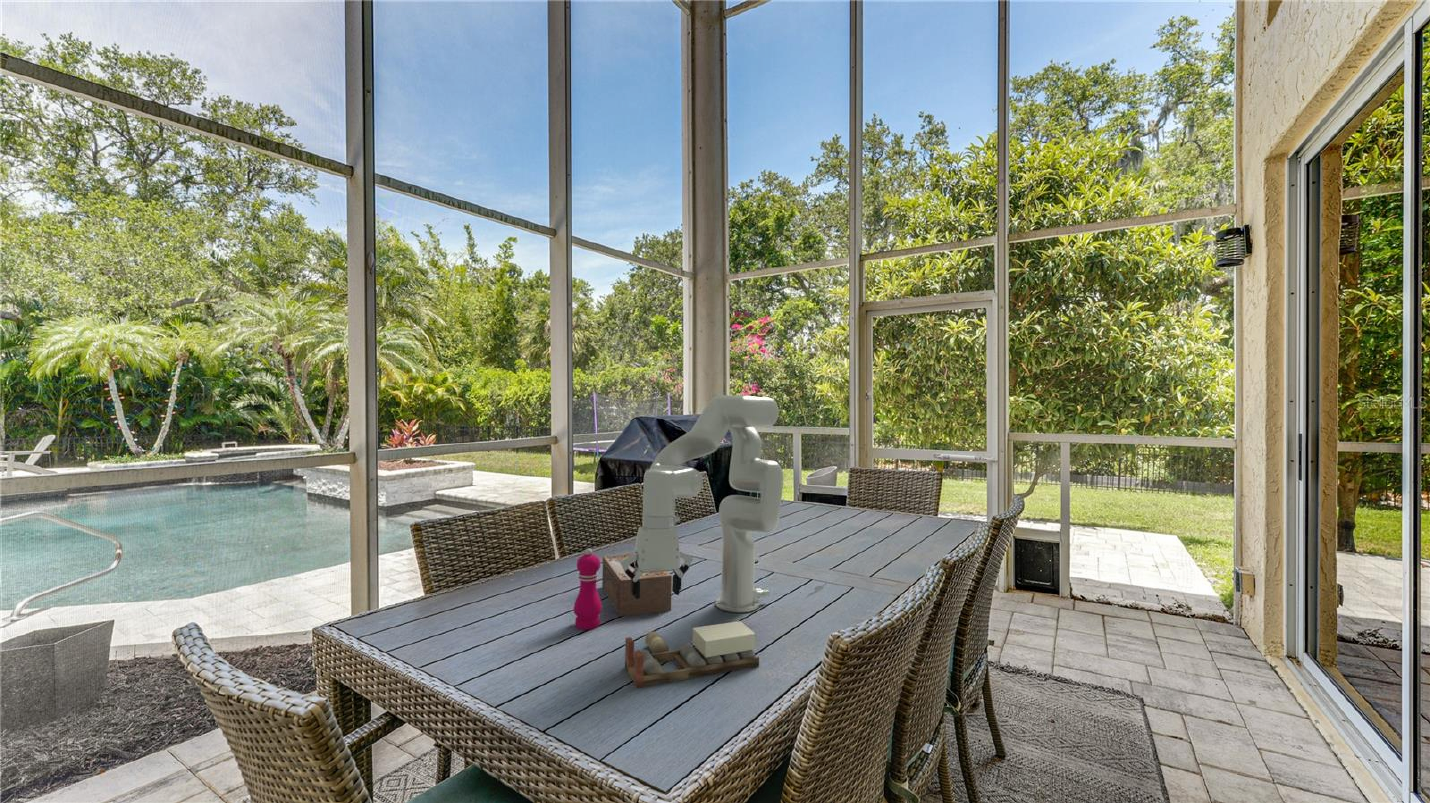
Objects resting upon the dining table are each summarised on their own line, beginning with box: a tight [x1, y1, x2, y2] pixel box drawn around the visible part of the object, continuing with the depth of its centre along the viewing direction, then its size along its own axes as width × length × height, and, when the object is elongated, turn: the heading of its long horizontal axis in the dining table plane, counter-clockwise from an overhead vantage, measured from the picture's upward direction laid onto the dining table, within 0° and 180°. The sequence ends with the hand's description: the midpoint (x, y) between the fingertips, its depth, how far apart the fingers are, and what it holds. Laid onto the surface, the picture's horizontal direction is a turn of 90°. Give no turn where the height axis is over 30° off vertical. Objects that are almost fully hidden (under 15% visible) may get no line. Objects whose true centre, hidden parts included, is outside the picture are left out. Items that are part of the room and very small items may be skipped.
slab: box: [692, 620, 756, 657], centre depth 136 cm, size 12×8×4 cm, turn 113°
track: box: [624, 636, 760, 689], centre depth 133 cm, size 28×10×6 cm, turn 113°
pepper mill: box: [573, 548, 603, 630], centre depth 156 cm, size 7×7×20 cm
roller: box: [645, 631, 669, 654], centre depth 141 cm, size 7×4×4 cm, turn 23°
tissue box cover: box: [601, 553, 673, 617], centre depth 177 cm, size 26×14×10 cm, turn 21°
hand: (656, 595), depth 140 cm, fingers open, 9 cm apart
